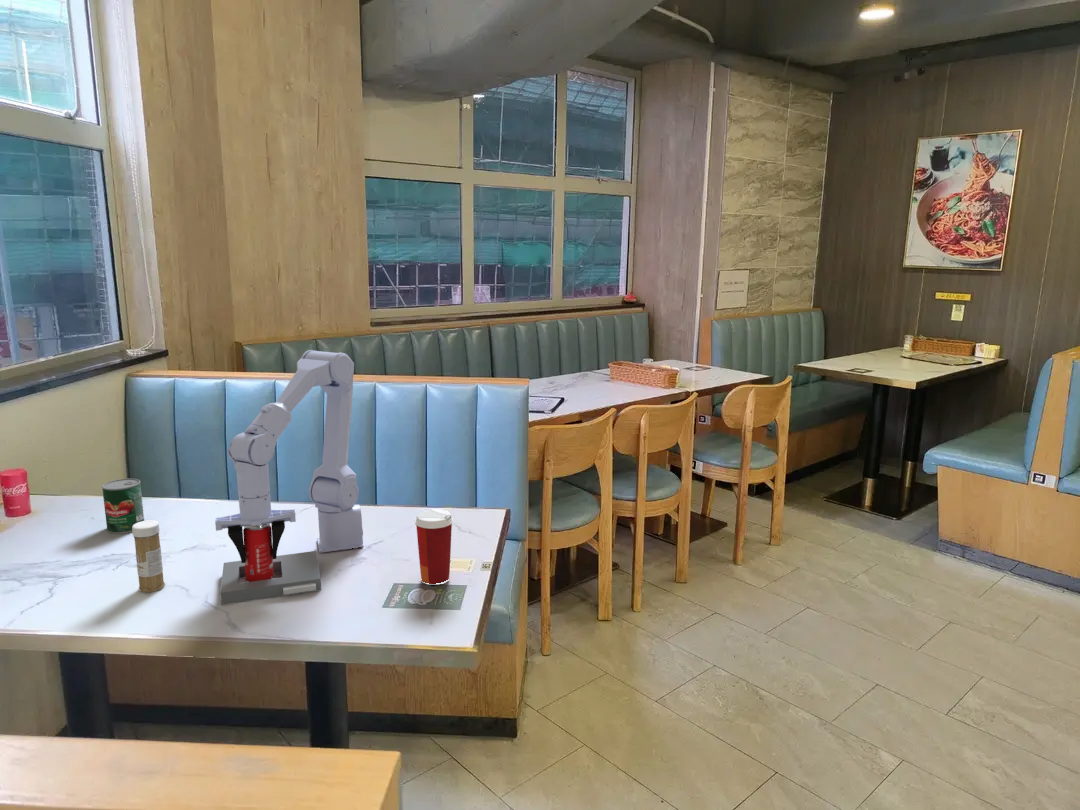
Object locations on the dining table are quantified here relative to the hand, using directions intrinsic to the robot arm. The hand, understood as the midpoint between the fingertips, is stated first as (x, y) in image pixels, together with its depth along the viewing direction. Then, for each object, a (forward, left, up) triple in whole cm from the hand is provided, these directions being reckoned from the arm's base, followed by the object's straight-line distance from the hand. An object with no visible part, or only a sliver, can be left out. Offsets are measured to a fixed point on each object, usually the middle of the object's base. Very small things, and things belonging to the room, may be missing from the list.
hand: (259, 559), depth 143 cm
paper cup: (-33, +10, -6) cm, 35 cm away
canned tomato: (+30, -42, -6) cm, 52 cm away
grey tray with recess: (-2, 0, -5) cm, 6 cm away
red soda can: (0, -1, -5) cm, 6 cm away
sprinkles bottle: (+20, -5, -6) cm, 21 cm away
